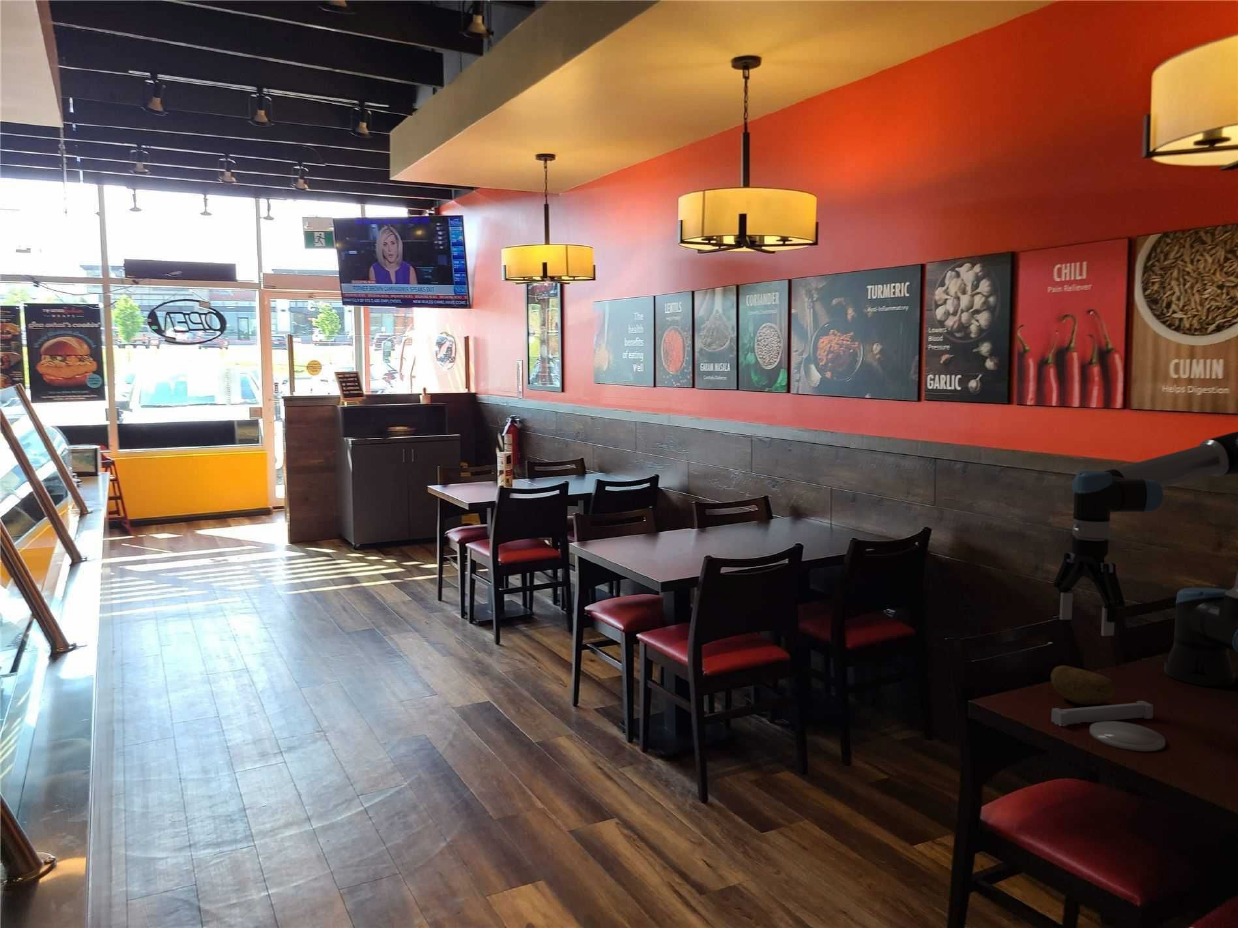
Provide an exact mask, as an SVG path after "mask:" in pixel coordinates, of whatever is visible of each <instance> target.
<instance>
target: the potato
mask: <svg viewBox="0 0 1238 928" xmlns="http://www.w3.org/2000/svg"><path fill="white" fill-rule="evenodd" d="M1050 681H1051V684H1052V686H1053V687H1054V689H1055V691H1056V692H1057V693H1058V694H1060V695H1061V696H1062V697H1064V698H1065V699H1066V700H1067V701H1070V702H1072V703H1073V704H1074V703H1075V704H1077V705H1100V704H1103V703H1105V702H1107V701H1108V700H1110V699H1112V698H1113V697H1114V695H1115V693H1116V690H1117V686H1116V684H1115V682H1114V681H1113V680H1112V679H1110V678H1108V677H1106V676H1105V675H1101V674H1100V673H1099V674H1098V673H1095V672H1092V671H1089V670H1086V669H1082V668H1077V667H1074V666H1068V665H1058V666H1056V667H1054V668H1053V669H1052V671H1051V674H1050Z"/></svg>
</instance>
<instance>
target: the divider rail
mask: <svg viewBox="0 0 1238 928" xmlns="http://www.w3.org/2000/svg"><path fill="white" fill-rule="evenodd" d="M1153 714H1154V705H1153V704H1152V703H1149V702H1147V701H1144V700H1137V701H1136V702H1133V703H1132V702H1131V703H1120V704H1109V705H1108V704H1107V705H1101V706H1100V705H1098V706H1097V705H1095V706H1087V707H1076V708H1075V707H1074V708H1065V709H1061V708H1059V707H1055V708H1053V707H1052V708H1051V718H1050V720H1051V721H1052V722H1051V723H1053V722H1054V723H1053V724H1055V725H1057V724H1058V725H1059V727H1060V726H1063V727H1067V726H1068V725H1075V723H1076V724H1082V723H1081V722H1087V723H1096V722H1102V721H1117V720H1127V719H1138V718H1139V719H1140V718H1144V719H1146V720H1147V719H1148V720H1149V719H1153V716H1154V715H1153ZM1058 725H1057V726H1058Z"/></svg>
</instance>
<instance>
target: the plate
mask: <svg viewBox="0 0 1238 928" xmlns="http://www.w3.org/2000/svg"><path fill="white" fill-rule="evenodd" d="M1089 734H1090V736H1092V737H1093V738H1094V739H1095V740H1097V741H1098V742H1101V743H1103V744H1106V745H1108V746H1111V747H1113V748H1118V749H1122V750H1126V751H1131V752H1133V751H1135V752H1157V751H1161V750H1163V749H1164V748H1166V739H1165V737H1164V736H1163V735H1162V734H1160V733H1159V732H1157V731H1155V730H1153V729H1150V728H1148V727H1146V726H1143V725H1138V724H1136V723H1131V722H1124V721H1117V720H1109V721H1098V722H1093V723H1092V724H1091V725H1090V726H1089Z"/></svg>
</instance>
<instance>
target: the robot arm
mask: <svg viewBox="0 0 1238 928" xmlns="http://www.w3.org/2000/svg"><path fill="white" fill-rule="evenodd" d="M1226 475H1227V476H1228V475H1238V431H1233V432H1229V433H1226V434H1223V435H1220V436H1219V435H1218V436H1215V437H1211V438H1207V439H1205V440H1203V441H1202V442H1200V443H1199V445H1197V446H1194V447H1190V448H1186V449H1184V450H1183V449H1182V450H1179V451H1175V452H1171V453H1168V454H1163V455H1161V456H1157V457H1152V458H1150V459H1149V458H1148V459H1146V460H1141V461H1138V462H1134V463H1131V464H1127V465H1122V466H1120V467H1116V468H1113V469H1112V468H1111V469H1108V470H1102V471H1099V470H1082V471H1081V470H1080V471H1079V472H1077V473H1076V475H1075V476H1074V479H1073V481H1072V482H1071V483H1072V484H1071V491H1072V494H1073V513H1072V514H1073V516H1072V518H1073V520H1072V535H1073V537H1072V538H1071V549H1070V550H1071V552H1065V553H1064V555H1063V561H1062V563H1061V565H1060V568H1059V569H1058V572H1057V574H1056V576H1055V579H1054V581H1053V584H1052V585H1053V588H1056V589H1057V590H1058V592H1059V607H1060V608H1059V620H1061V621H1063V620H1067V621H1068V620H1072V617H1073V595H1074V593H1073V588H1074V587H1075V586H1076V584H1077V583H1078V582H1079V580H1081V578H1082V577H1084V578H1087V579H1090V581H1091V582H1093V584H1094V585H1095V587H1096V589H1097V592H1098V593H1099V595H1100V597H1101V599H1102V601H1103V604H1104V606H1102V608H1101V625H1100V626H1101V627H1100V628H1101V630H1100V631H1101V632H1100V635H1101V636H1102V637H1108V636H1110V637H1111V636H1114V635H1115V623H1116V622H1117V612H1118V611H1117V610H1118V608H1124V607H1125V606H1126V603H1125V600H1124V599H1125V598H1124V596H1123V593H1122V590H1121V585H1120V582H1119V579H1118V575H1117V565H1116V564H1115V563H1112V562H1111V563H1110V562H1109V563H1106V562H1105V558H1106V557H1107V556H1108V555H1109V545H1110V544H1109V540H1108V538H1109V537H1110V529H1111V528H1110V527H1111V525H1110V522H1111V513H1119V512H1120V513H1121V512H1123V513H1124V512H1127V513H1128V512H1129V513H1131V512H1132V513H1133V512H1134V513H1139V512H1141V513H1145V512H1152V511H1153V512H1154V511H1156V510H1158V509H1159V508H1160V507H1161V505H1162V503H1163V498H1164V492H1163V488H1164V487H1168V486H1173V485H1176V484H1180V483H1184V482H1187V481H1191V480H1196V479H1200V478H1203V477H1207V476H1212V477H1214V478H1215V477H1223V476H1226ZM1174 614H1175V616H1174V635H1173V636H1174V638H1173V645H1172V647H1171V649H1170V651H1169V655H1168V656H1167V659H1166V660H1165V662H1164V667H1163V668H1164V671H1163V672H1164V674H1165V675H1167V676H1168V677H1170V678H1172V679H1175V680H1178V681H1181V682H1184V683H1188V684H1191V685H1192V684H1193V685H1197V686H1198V685H1199V686H1204V687H1216V688H1217V687H1220V688H1221V687H1229V686H1233V685H1234V684H1235V683H1236V682H1235V681H1236V672H1235V670H1234V669H1233V664H1232V660H1231V657H1230V652H1229V650H1231V651H1232V652H1233V651H1234V652H1236V653H1238V571H1237V573H1236V577H1235V581H1234V586H1233V588H1231V589H1225V588H1224V589H1223V588H1215V587H1184V588H1181V589H1179V590H1178V592H1177V594H1176V601H1175V612H1174ZM1234 682H1235V683H1234ZM1233 683H1234V684H1233Z"/></svg>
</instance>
